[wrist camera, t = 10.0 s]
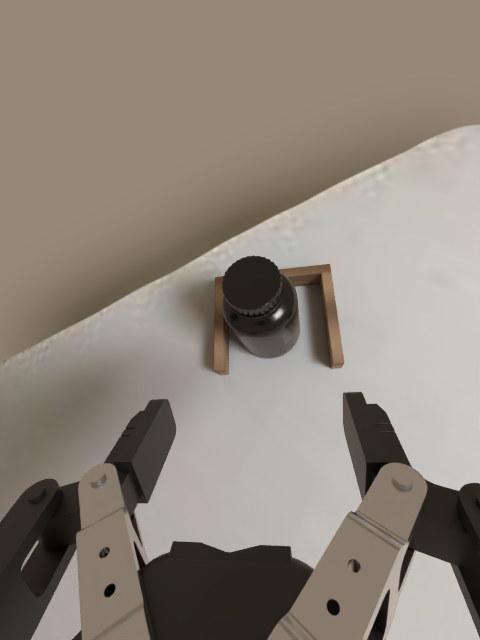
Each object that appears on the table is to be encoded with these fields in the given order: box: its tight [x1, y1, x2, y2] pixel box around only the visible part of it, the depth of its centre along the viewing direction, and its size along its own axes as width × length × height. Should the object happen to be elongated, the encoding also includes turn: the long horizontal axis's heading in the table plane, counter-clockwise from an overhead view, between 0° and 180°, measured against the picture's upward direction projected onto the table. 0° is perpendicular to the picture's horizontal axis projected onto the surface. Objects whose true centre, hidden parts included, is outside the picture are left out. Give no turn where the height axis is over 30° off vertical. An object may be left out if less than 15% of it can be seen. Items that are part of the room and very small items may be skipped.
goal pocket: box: [214, 264, 344, 375], centre depth 33 cm, size 11×13×2 cm
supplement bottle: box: [222, 256, 300, 358], centre depth 28 cm, size 7×7×12 cm
